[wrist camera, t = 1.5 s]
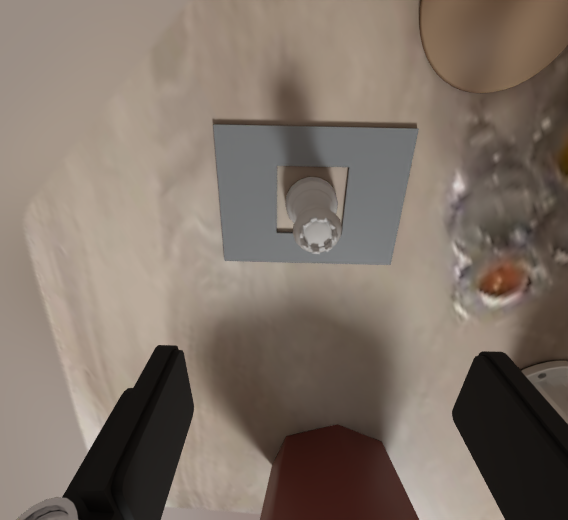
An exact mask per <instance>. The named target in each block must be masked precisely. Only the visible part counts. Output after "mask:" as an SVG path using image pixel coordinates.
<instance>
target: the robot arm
mask: <svg viewBox="0 0 568 520" xmlns="http://www.w3.org/2000/svg"><path fill="white" fill-rule="evenodd" d="M193 412H194V403H193V398H192V393H191V388H190V383H189V378H188V373H187V367H186V362H185V357H184V352H183V351H182V350H178V347H177V346H171V345H158V346H157V347H156V348H155V350H154V352H153V353H152V355H151V357H150V359H149V361H148V362H147V364H146V366H145V368H144V370H143V371H142V373H141V375H140V377H139V379H138V381H137V382H136V384H135V386H134V388H128V389H127V390H125V391H124V392H123V394H122V395H121V397H120V398H119V400H118V402H117V404H116V405H115V407H114V409H113V411H112V412H111V414H110V416H109V417H108V419H107V421H106V423H105V424H104V426H103V428H102V429H101V431H100V433H99V435H98V436H97V438H96V440H95V442H94V443H93V445H92V447H91V448H90V450H89V452H88V454H87V455H86V457H85V459H84V461H83V462H82V464H81V466H80V468H79V469H78V471H77V473H76V475H75V476H74V478H73V480H72V481H71V483H70V485H69V487H68V488H67V490H66V492H65V493H64V495H63V497H62V498H61V497H55V498H51V499H46V500H44V501H42V502H40V503H38V504H36V505H34V506H32V507H31V508H30V509H28V510H27V511H26V512H24V513H23V514H21V515H20V516H19V517H18V518H17V519H16V520H161V517H162V513H163V510H164V507H165V504H166V501H167V497H168V494H169V491H170V488H171V484H172V481H173V478H174V475H175V472H176V468H177V465H178V462H179V459H180V455H181V452H182V449H183V446H184V443H185V439H186V436H187V433H188V430H189V426H190V423H191V420H192V417H193ZM452 416H453V420H454V423H455V425H456V427H457V429H458V430H459V432H460V434H461V436H462V438H463V440H464V442H465V444H466V446H467V448H468V450H469V451H470V453H471V455H472V457H473V459H474V461H475V463H476V465H477V467H478V469H479V471H480V472H481V474H482V476H483V478H484V480H485V482H486V484H487V486H488V488H489V490H490V492H491V493H492V495H493V497H494V499H495V501H496V503H497V505H498V507H499V509H500V511H501V513H502V514H503V516H504V518H505V520H568V361H552V362H546V363H541V364H537V365H534V366H531V367H528V368H526V369H524V370H520V369H519V368H518V367H517V366H516V365H515V363H514V362H513V361H512V360H511V359H510V358H509V357H508V356H507V355H506V354H505V353H503V352H481V353H480V354H479V355H478V356H476V357H475V358H474V360H473V362H472V365H471V367H470V369H469V372H468V374H467V377H466V379H465V381H464V384H463V386H462V388H461V391H460V393H459V396H458V398H457V400H456V403H455V405H454V408H453V410H452Z"/></svg>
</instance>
